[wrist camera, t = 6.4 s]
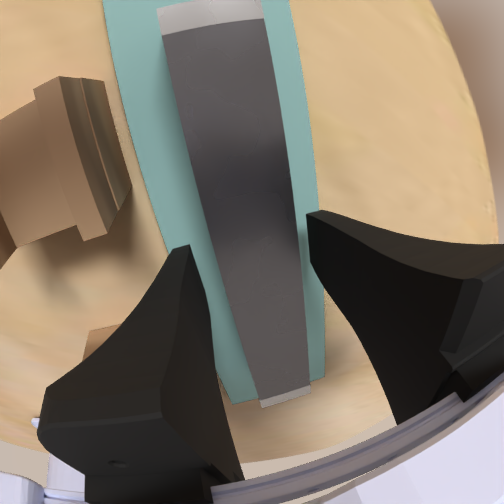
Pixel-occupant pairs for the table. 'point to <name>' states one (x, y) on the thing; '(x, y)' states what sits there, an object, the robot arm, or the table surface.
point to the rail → (243, 180)
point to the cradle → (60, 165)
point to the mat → (182, 178)
